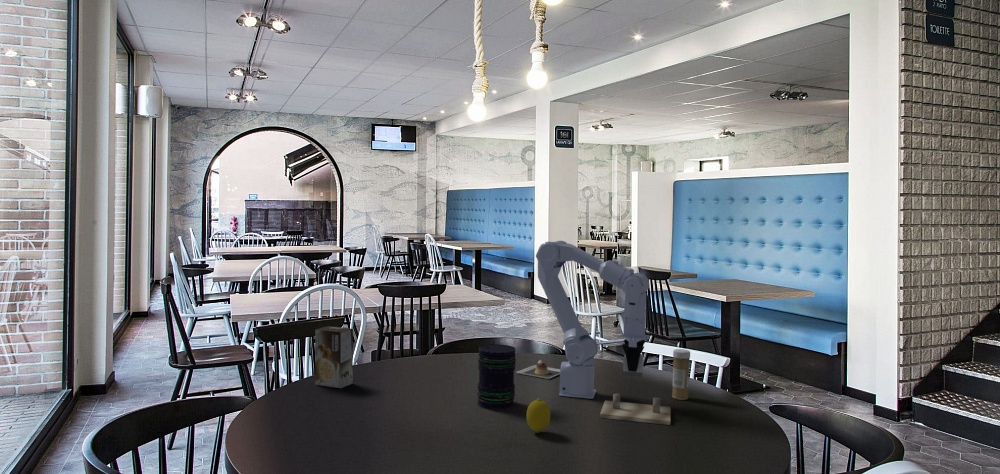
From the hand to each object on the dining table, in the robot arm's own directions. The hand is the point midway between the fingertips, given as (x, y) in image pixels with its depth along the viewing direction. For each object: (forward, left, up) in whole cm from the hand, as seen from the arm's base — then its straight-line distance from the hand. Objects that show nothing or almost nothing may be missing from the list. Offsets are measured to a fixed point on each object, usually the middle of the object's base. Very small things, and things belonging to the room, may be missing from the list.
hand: (633, 368), depth 176 cm
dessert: (-29, +24, -10) cm, 39 cm away
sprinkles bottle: (+13, +10, -10) cm, 19 cm away
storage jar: (-34, -13, -10) cm, 38 cm away
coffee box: (-83, -10, -10) cm, 85 cm away
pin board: (+2, -9, -9) cm, 13 cm away
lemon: (-19, -31, -10) cm, 38 cm away
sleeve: (0, 0, -2) cm, 2 cm away
